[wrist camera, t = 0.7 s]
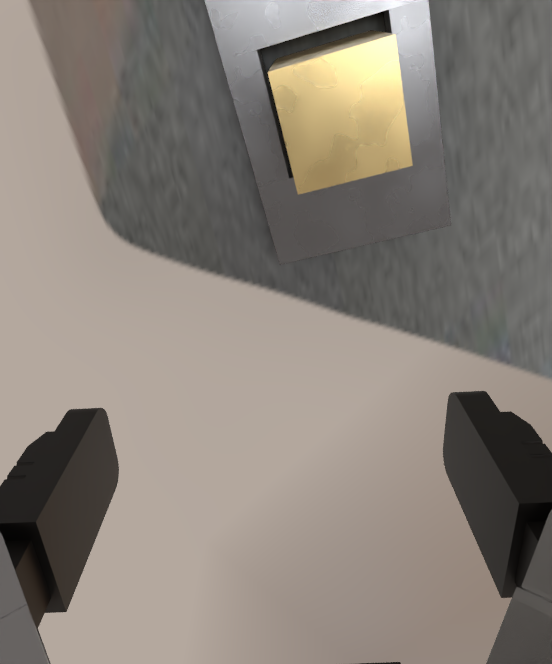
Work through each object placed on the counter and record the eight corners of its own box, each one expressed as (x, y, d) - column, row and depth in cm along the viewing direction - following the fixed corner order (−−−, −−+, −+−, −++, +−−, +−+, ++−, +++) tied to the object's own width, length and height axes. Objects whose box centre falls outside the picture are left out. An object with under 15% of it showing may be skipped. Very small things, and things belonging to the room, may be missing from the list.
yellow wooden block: (276, 58, 27) (267, 72, 20) (371, 30, 26) (395, 34, 20) (298, 154, 30) (297, 194, 23) (386, 130, 29) (412, 165, 22)
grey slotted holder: (130, -288, 21) (113, -318, 19) (376, -396, 19) (384, -440, 17) (280, 251, 33) (279, 266, 31) (442, 213, 31) (451, 226, 29)
